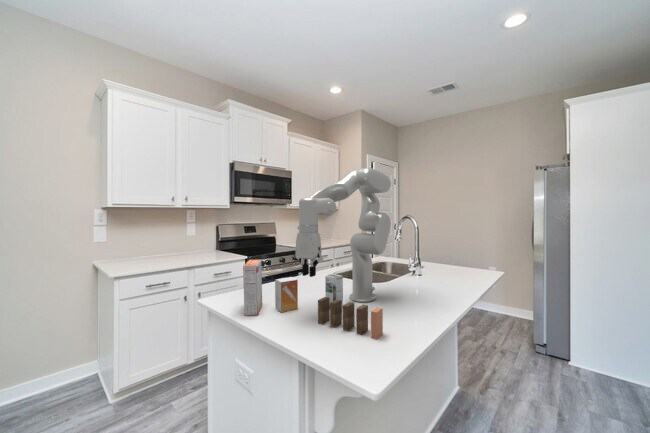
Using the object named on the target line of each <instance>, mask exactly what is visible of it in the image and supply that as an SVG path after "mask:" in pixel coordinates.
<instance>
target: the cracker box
mask: <svg viewBox="0 0 650 433" xmlns="http://www.w3.org/2000/svg"><path fill="white" fill-rule="evenodd" d="M242 271H243V272H242V275H243V302H244V303H243V306H244V308H243V310H244V316H245V317H246V316H247V317H248V316H258V315H259V314H260V311H261V308H262V306H263V285H262V284H263V283H262V282H263V280H262V279H263V278H262V276H263V275H262V259H249V260H247V261H246V262H245V264H244V265H243V266H242Z"/></svg>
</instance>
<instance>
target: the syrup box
mask: <svg viewBox="0 0 650 433" xmlns="http://www.w3.org/2000/svg"><path fill="white" fill-rule="evenodd" d="M324 281H325V282H324V284H325V287H324V288H325V295H324V297H329V298H330V302H332V301H334V300H336V299H339V300H342V309H343V305H344V302H343V300H344V294H343V293H344V288H343V287H344V285H343V284H344V276H343V275H339V274H336V273H330V274H327V275H325V277H324Z"/></svg>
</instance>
